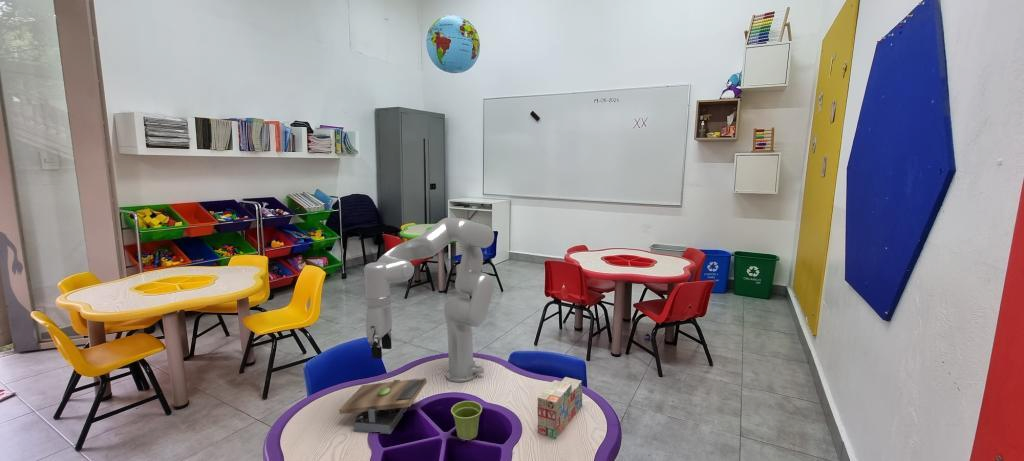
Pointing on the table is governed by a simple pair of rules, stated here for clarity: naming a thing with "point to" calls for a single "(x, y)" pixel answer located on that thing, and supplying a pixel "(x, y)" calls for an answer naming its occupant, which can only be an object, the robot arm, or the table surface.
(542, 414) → the stack of blocks
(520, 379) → the table surface
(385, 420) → the base
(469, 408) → the plant pot
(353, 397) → the plate
